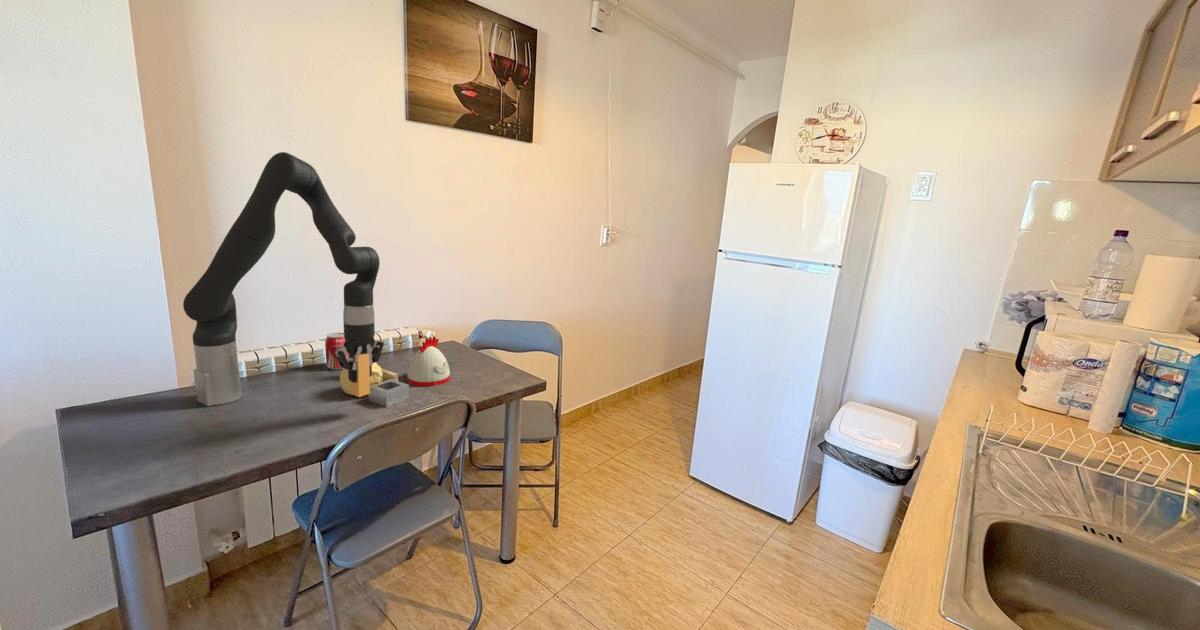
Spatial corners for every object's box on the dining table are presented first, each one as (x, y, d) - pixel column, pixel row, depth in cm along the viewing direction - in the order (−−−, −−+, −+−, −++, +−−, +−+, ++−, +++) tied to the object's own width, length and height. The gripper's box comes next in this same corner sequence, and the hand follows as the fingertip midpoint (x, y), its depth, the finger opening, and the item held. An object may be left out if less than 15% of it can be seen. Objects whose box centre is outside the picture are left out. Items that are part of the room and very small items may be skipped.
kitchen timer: (458, 377, 164) (458, 336, 160) (429, 389, 151) (429, 346, 148) (428, 369, 169) (428, 329, 166) (398, 380, 157) (397, 338, 153)
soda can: (329, 364, 166) (327, 332, 164) (351, 363, 168) (349, 332, 166) (324, 371, 160) (322, 337, 157) (347, 370, 162) (345, 337, 159)
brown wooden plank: (394, 389, 149) (393, 375, 148) (369, 380, 155) (369, 366, 153) (398, 388, 150) (397, 373, 149) (373, 379, 156) (373, 365, 155)
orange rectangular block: (358, 397, 128) (357, 355, 126) (351, 393, 130) (350, 353, 127) (370, 393, 131) (369, 353, 129) (362, 390, 133) (361, 350, 130)
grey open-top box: (386, 407, 137) (386, 392, 136) (369, 400, 140) (368, 386, 139) (409, 398, 144) (408, 384, 143) (391, 392, 147) (391, 378, 146)
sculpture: (385, 396, 144) (384, 363, 142) (341, 401, 138) (339, 367, 136) (380, 383, 154) (379, 352, 151) (339, 387, 147) (337, 355, 145)
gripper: (342, 327, 118) (344, 390, 122) (390, 319, 130) (391, 376, 134) (325, 321, 121) (327, 383, 125) (373, 314, 134) (374, 370, 137)
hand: (360, 379), depth 130 cm, fingers closed on orange rectangular block, 3 cm apart
